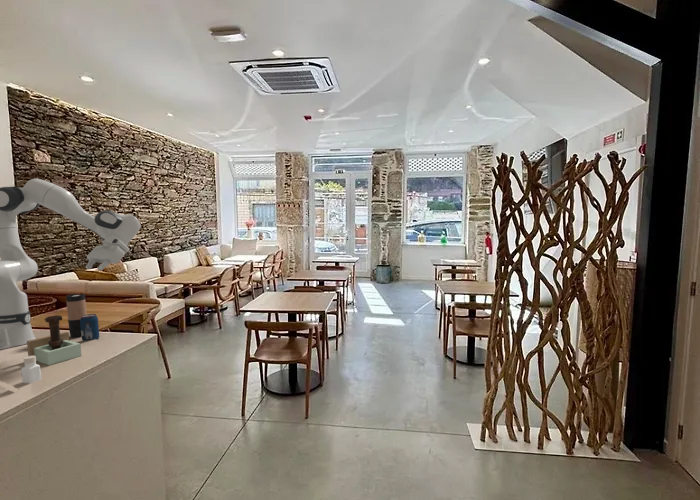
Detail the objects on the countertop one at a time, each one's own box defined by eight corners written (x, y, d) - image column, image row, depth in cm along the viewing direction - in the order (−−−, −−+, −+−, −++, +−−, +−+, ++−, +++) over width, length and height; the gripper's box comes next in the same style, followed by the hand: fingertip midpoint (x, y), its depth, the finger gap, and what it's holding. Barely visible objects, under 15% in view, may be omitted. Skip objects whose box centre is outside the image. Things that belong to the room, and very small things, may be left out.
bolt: (55, 356, 159) (52, 318, 158) (44, 355, 160) (41, 318, 159) (68, 351, 165) (65, 315, 164) (58, 350, 166) (54, 314, 165)
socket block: (81, 355, 164) (80, 343, 163) (49, 365, 154) (47, 352, 153) (67, 351, 170) (66, 339, 169) (34, 360, 160) (33, 348, 159)
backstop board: (93, 359, 162) (91, 337, 161) (53, 372, 150) (51, 348, 149) (66, 351, 172) (64, 331, 172) (27, 362, 160) (25, 340, 159)
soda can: (95, 337, 192) (93, 312, 191) (102, 339, 188) (100, 314, 187) (79, 341, 187) (77, 316, 185) (85, 344, 183) (83, 318, 181)
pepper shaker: (34, 380, 142) (31, 354, 141) (42, 382, 141) (39, 355, 140) (22, 385, 138) (19, 358, 137) (30, 386, 137) (27, 359, 136)
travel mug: (74, 338, 191) (70, 297, 189) (66, 336, 195) (62, 295, 193) (91, 334, 197) (88, 294, 195) (83, 332, 201) (80, 292, 199)
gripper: (96, 240, 187) (75, 263, 180) (121, 240, 177) (100, 265, 170) (106, 248, 192) (86, 272, 184) (132, 249, 181) (111, 274, 174)
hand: (93, 269), depth 177 cm, fingers open, 8 cm apart
